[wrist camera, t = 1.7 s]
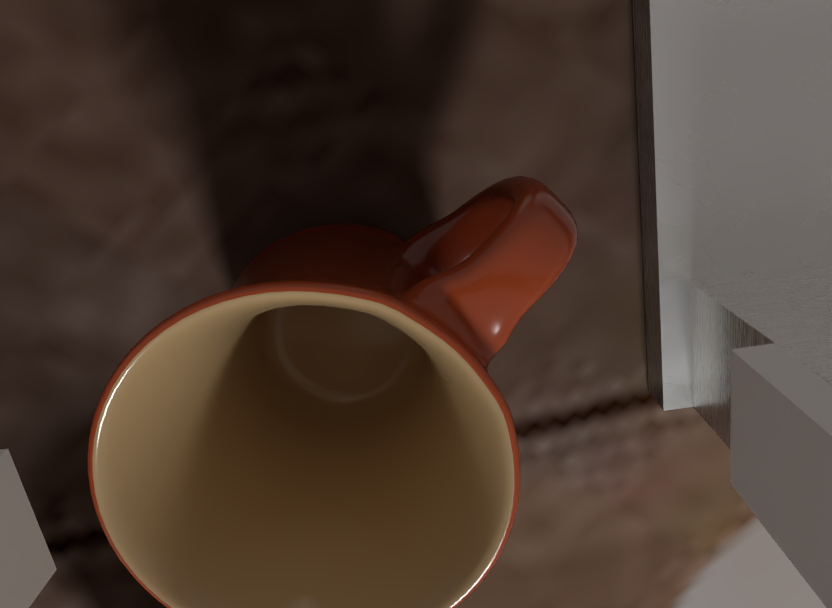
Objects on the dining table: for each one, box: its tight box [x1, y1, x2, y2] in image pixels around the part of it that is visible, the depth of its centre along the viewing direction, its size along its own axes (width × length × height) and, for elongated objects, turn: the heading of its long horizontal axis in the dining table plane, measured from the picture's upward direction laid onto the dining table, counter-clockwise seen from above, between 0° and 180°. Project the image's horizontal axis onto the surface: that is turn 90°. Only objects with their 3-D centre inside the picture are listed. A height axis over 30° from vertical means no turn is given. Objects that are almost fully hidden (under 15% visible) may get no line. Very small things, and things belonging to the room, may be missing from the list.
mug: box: [87, 176, 578, 608], centre depth 18 cm, size 12×9×10 cm
